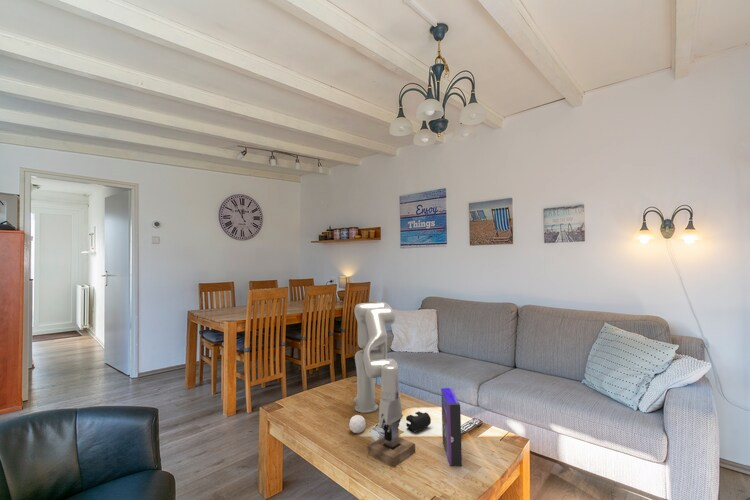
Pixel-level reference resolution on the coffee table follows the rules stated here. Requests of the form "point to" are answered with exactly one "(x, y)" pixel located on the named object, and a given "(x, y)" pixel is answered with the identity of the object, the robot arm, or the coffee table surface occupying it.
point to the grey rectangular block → (393, 435)
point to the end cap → (418, 421)
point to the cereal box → (451, 426)
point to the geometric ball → (357, 424)
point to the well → (391, 451)
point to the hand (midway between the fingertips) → (391, 437)
